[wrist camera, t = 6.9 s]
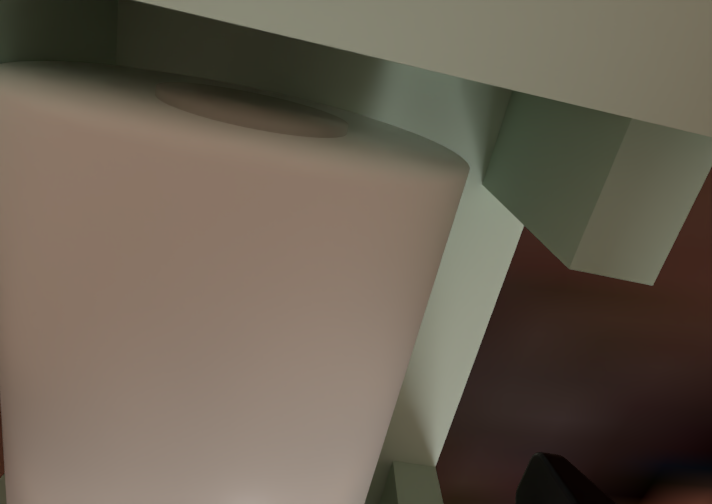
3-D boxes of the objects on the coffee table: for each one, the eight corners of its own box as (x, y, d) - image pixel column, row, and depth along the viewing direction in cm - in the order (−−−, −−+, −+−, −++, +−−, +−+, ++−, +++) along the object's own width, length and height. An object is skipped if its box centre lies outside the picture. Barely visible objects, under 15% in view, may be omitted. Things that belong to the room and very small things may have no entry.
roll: (352, 509, 12) (274, 841, 7) (142, 438, 12) (-80, 694, 7) (467, 135, 9) (485, 222, 3) (172, 59, 9) (-201, 37, 4)
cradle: (401, 516, 14) (437, 809, 9) (76, 471, 13) (-113, 767, 8) (570, 35, 10) (885, 15, 4) (80, -88, 9) (-400, -341, 3)
